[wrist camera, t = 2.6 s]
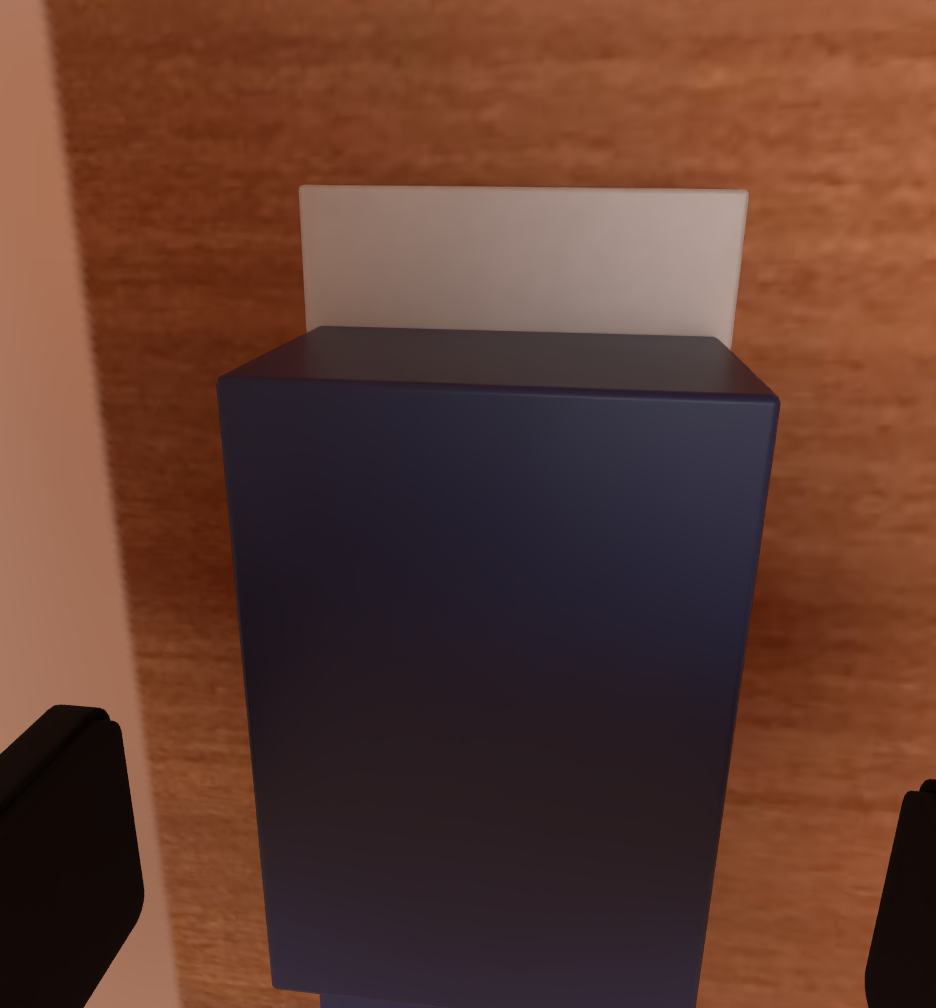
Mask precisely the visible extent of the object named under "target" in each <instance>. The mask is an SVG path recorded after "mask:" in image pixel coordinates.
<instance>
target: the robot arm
mask: <svg viewBox="0 0 936 1008" xmlns="http://www.w3.org/2000/svg"><path fill="white" fill-rule="evenodd" d="M143 902H144V885H143V878H142V871H141V865H140V857H139V850H138V843H137V836H136V829H135V823H134V815H133V808H132V802H131V794H130V788H129V780H128V774H127V766H126V759H125V753H124V747H123V739H122V732H121V729H120V726H119V724H118V723H117V722H115V721H110V718H109V715H108V714H107V712H106V711H105V710H104V709H101V708H96V707H84V706H73V705H55V706H53V707H52V708H50V709H49V710H47V711H46V712H45V713H44V714H43V715H42V716H41V717H40V718H39V719H38V720H37V721H36V722H35V723H33V725H31V726H30V727H29V728H28V729H27V730H26V731H25V732H24V733H23V734H22V735H20V736H19V737H18V739H16V740H15V741H14V742H13V743H12V744H11V745H10V746H9V747H8V748H7V749H6V750H4V751H3V752H2V753H1V754H0V1008H84V1006H85V1004H86V1003H87V1001H88V1000H89V998H90V997H91V995H92V993H93V992H94V990H95V989H96V987H97V985H98V984H99V982H100V981H101V979H102V977H103V976H104V974H105V972H106V971H107V969H108V968H109V966H110V964H111V963H112V961H113V960H114V958H115V956H116V955H117V953H118V952H119V950H120V949H121V947H122V945H123V944H124V942H125V941H126V939H127V937H128V936H129V934H130V933H131V931H132V929H133V928H134V926H135V925H136V923H137V921H138V919H139V916H140V913H141V911H142V906H143ZM865 992H866V998H867V1003H868V1007H869V1008H936V780H935V779H929V780H926V781H924V783H923V784H922V785H921V787H920V790H919V791H909V792H907V793H906V795H905V796H904V799H903V802H902V806H901V811H900V815H899V820H898V825H897V829H896V834H895V838H894V843H893V847H892V852H891V856H890V861H889V865H888V870H887V875H886V879H885V884H884V888H883V893H882V897H881V902H880V906H879V911H878V915H877V920H876V925H875V929H874V934H873V938H872V943H871V947H870V952H869V956H868V961H867V966H866V971H865Z"/></svg>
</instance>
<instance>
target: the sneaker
mask: <svg viewBox="0 0 936 1008" xmlns="http://www.w3.org/2000/svg"><path fill="white" fill-rule="evenodd" d="M748 202H749V193H748V191H747V190H745V189H697V188H596V187H494V186H392V185H302V186H300V188H299V206H300V224H301V242H302V260H303V279H304V297H305V315H306V333H305V334H303V335H301V336H299V337H297V338H295V339H293V340H291V341H290V342H288V343H286V344H284V345H282V346H280V347H278V348H276V349H274V350H272V351H270V352H268V353H266V354H264V355H262V356H260V357H258V358H256V359H254V360H252V361H250V362H248V363H246V364H244V365H242V366H240V367H238V368H236V369H234V370H232V371H230V372H228V373H226V374H224V375H222V376H220V377H218V380H217V383H216V386H217V397H218V407H219V418H220V429H221V439H222V450H223V461H224V472H225V482H226V493H227V504H228V515H229V525H230V536H231V547H232V557H233V568H234V579H235V590H236V600H237V611H238V622H239V632H240V643H241V654H242V665H243V675H244V686H245V697H246V707H247V718H248V729H249V740H250V750H251V761H252V772H253V782H254V793H255V804H256V815H257V825H258V836H259V847H260V858H261V868H262V879H263V890H264V900H265V911H266V922H267V933H268V943H269V954H270V965H271V975H272V985H273V987H274V988H276V989H281V990H290V991H299V992H307V993H316V994H320V1007H321V1008H696V1001H697V993H698V986H699V979H700V972H701V965H702V958H703V951H704V944H705V937H706V930H707V922H708V915H709V908H710V901H711V894H712V887H713V880H714V873H715V866H716V859H717V851H718V844H719V837H720V830H721V823H722V816H723V809H724V802H725V795H726V787H727V780H728V773H729V766H730V759H731V752H732V745H733V738H734V731H735V724H736V716H737V709H738V702H739V695H740V688H741V681H742V674H743V667H744V660H745V653H746V645H747V638H748V631H749V624H750V617H751V610H752V603H753V596H754V589H755V581H756V574H757V567H758V560H759V553H760V546H761V539H762V532H763V525H764V518H765V510H766V503H767V496H768V489H769V482H770V475H771V468H772V461H773V454H774V447H775V439H776V432H777V425H778V418H779V411H780V401H779V397H778V396H777V395H776V394H775V393H774V392H773V391H772V390H771V389H770V388H769V387H767V386H766V385H765V384H764V383H763V382H762V381H761V380H760V379H759V378H758V377H757V376H756V375H755V374H754V373H753V372H752V371H751V370H750V369H749V368H748V367H747V366H746V365H745V364H744V363H743V362H742V361H741V360H740V359H739V358H738V357H737V356H736V355H735V354H734V353H733V352H731V347H732V338H733V330H734V321H735V313H736V304H737V296H738V287H739V279H740V270H741V262H742V253H743V245H744V236H745V228H746V219H747V211H748Z"/></svg>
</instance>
